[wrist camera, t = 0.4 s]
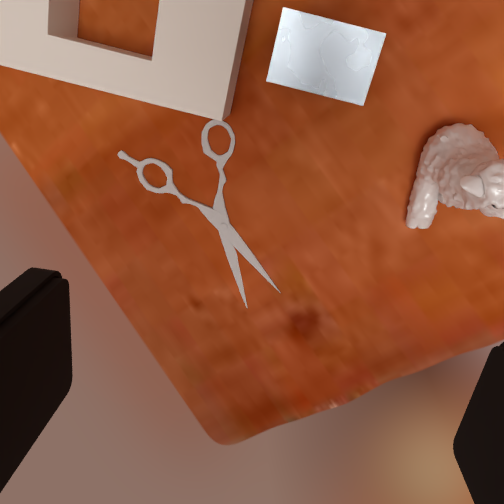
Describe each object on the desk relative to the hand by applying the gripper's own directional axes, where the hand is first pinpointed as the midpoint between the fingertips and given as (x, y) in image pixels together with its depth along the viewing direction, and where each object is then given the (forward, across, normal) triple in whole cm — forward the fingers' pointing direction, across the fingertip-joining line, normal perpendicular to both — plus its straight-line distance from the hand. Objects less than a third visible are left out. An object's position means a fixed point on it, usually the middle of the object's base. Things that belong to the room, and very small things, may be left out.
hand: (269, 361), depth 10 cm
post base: (+32, +14, -8) cm, 36 cm away
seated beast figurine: (+32, -15, +1) cm, 36 cm away
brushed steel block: (+32, -1, -7) cm, 33 cm away
